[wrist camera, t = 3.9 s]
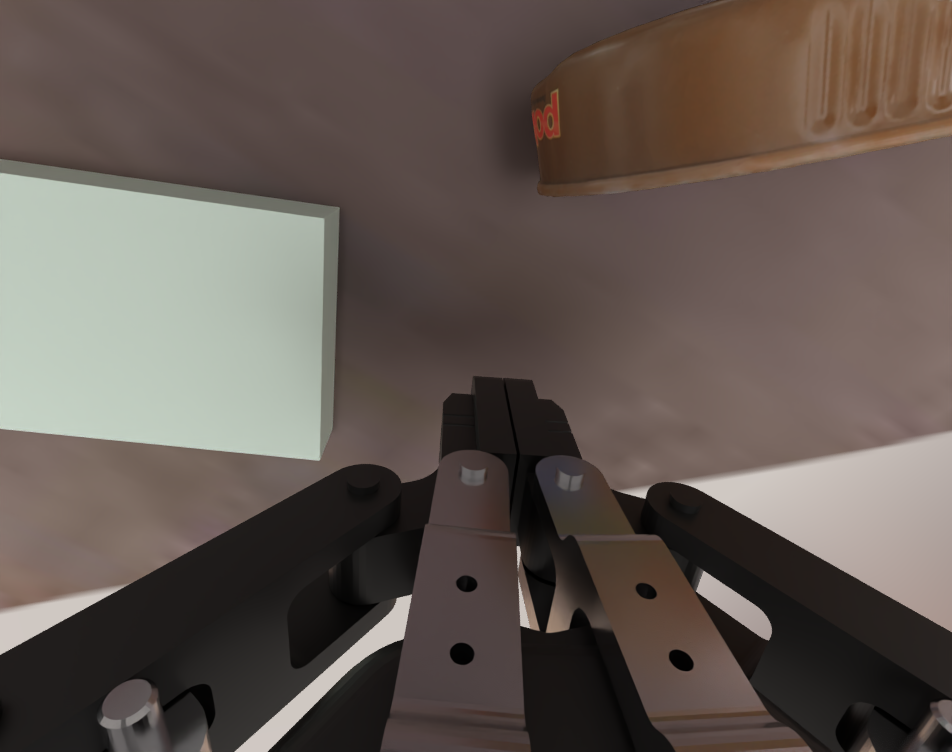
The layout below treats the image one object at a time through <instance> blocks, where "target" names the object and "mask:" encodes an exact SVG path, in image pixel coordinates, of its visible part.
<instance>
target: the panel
mask: <svg viewBox="0 0 952 752" xmlns="http://www.w3.org/2000/svg"><path fill="white" fill-rule="evenodd" d="M339 211H340V207H333V206H326V205H319V204H312V203H305V202H298V201H291V200H284V199H277V198H270V197H263V196H256V195H249V194H242V193H235V192H228V191H221V190H214V189H207V188H200V187H193V186H186V185H179V184H172V183H165V182H158V181H151V180H144V179H137V178H130V177H123V176H116V175H110V174H103V173H96V172H89V171H82V170H75V169H68V168H61V167H54V166H47V165H40V164H33V163H26V162H19V161H12V160H5V159H0V429H8V430H18V431H28V432H38V433H48V434H58V435H68V436H78V437H88V438H98V439H108V440H118V441H128V442H138V443H148V444H158V445H168V446H178V447H188V448H198V449H208V450H218V451H228V452H238V453H248V454H258V455H268V456H278V457H288V458H298V459H308V460H318V461H320V459H321V456H322V454H323V452H324V449H325V447H326V444H327V442H328V439H329V437H330V434H331V432H332V429H333V405H334V372H335V340H336V308H337V276H338V243H339Z"/></svg>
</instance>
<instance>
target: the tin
mask: <svg viewBox="0 0 952 752" xmlns="http://www.w3.org/2000/svg"><path fill="white" fill-rule="evenodd" d="M531 109H532V120H533V126H534V133H535V139H536V146H537V154H538V162H539V170H540V181H539V183H538V186H537V190H538V193H539V195H544V196H552V197H562V196H583V195H598V194H615V193H623V192H629V191H639V190H644V189H654V188H660V187H668V186H673V185H680V184H687V183H696V182H702V181H710V180H717V179H722V178H729V177H736V176H742V175H747V174H750V173H757V172H768V171H771V170H776V169H782V168H790V167H795V166H797V165H802V164H809V163H815V162H820V161H826V160H832V159H837V158H843V157H848V156H853V155H857V154H862V153H866V152H871V151H877V150H882V149H888V148H893V147H898V146H903V145H908V144H913V143H918V142H923V141H927V140H932V139H937V138H943V137H949V136H952V0H717V1H714V2H710V3H707V4H703V5H700V6H697V7H693V8H690V9H687V10H684V11H681V12H678V13H675V14H672V15H669V16H666V17H663V18H660V19H657V20H654V21H652V22H649V23H646V24H643V25H640V26H637V27H634V28H631V29H629V30H626V31H624V32H621V33H619V34H616V35H613V36H611V37H608V38H606V39H603V40H601V41H598V42H596V43H594V44H592V45H590V46H588V47H586V48H584V49H582V50H580V51H578V52H576V53H574V54H572V55H571V56H569V57H568V58H567V59H565V60H564V61H562V62H561V63H560V64H559V65H558V66H557V67H556V68H555V69H554V70H553V71H552V73H551V74H550V75H548V76H547V77H546V78H545V79H543V80H542V81H541V82H539V83H538V84H537V85H536V86H535V88H534V89H533V91H532V93H531Z"/></svg>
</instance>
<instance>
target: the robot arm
mask: <svg viewBox="0 0 952 752" xmlns="http://www.w3.org/2000/svg"><path fill="white" fill-rule="evenodd" d="M517 546H520V550H521V557H520V563H519V568H517ZM703 571H705V572H707V573H708V574H710V575H711V576H713V577H714V578H716V579H717V580H719V581H720V582H722V583H723V584H725V585H726V586H728V587H729V588H731V589H732V590H734V591H735V592H737V593H738V594H740V595H741V596H743V597H744V598H746V599H747V600H749V601H750V602H752V603H753V604H755V605H756V606H757V607H759V608H760V609H761V610H762V611H763V612H764V613H765V614H766V616H767V617H768V619H769V621H770V623H771V626H772V635H771V638H770V640H769V641H768V640H765V639H763V638H761V637H759V636H758V635H757V634H755V633H754V632H752V631H751V630H749V629H748V628H747V627H745V626H744V625H742V624H741V623H739V622H738V621H737V620H735V619H734V618H732V617H731V616H730V615H728V614H727V613H725V612H724V611H722V610H721V609H720V608H718V607H717V606H715V605H714V604H712V603H711V602H710V601H708V600H707V599H706V598H704V597H702V596H701V595H700V594H698V593H697V592H696V590H697V587H698V584H699V581H700V579H701V576H702V573H703ZM518 578H519V582H520V587H521V591H522V595H523V599H524V603H525V607H526V612H527V616H528V620H529V624H530V628H531V629H530V628H526V627H522V626H520V612H519V589H518ZM411 594H412V598H411V604H410V609H409V614H408V621H407V625H406V631H405V636H404V639H403V640H400V641H397V642H394V643H392V644H389V645H387V646H385V647H383V648H381V649H379V650H377V651H376V652H374V653H372V654H371V655H369V656H368V657H366V658H365V659H363V660H362V661H361V662H360V663H358V664H357V665H356V666H354V667H353V668H352V669H351V670H350V671H348V672H347V674H345V675H344V676H343V677H342V678H341V679H340V680H339V681H338V682H337V683H336V684H335V685H334V686H333V687H332V688H331V689H330V690H329V691H328V692H327V693H326V694H325V695H324V696H323V697H322V698H321V699H320V700H319V701H318V702H317V703H316V704H315V705H314V706H313V707H312V708H311V709H310V710H309V711H308V712H307V713H306V714H305V715H304V716H303V717H302V718H301V719H300V720H299V721H298V722H297V723H296V724H295V725H294V726H293V727H292V728H291V729H290V730H289V731H288V732H287V733H286V734H285V735H284V736H283V737H282V738H281V739H280V740H279V741H278V742H277V743H276V744H275V745H274V746H273V747H272V748H271V749H270V750H269V751H268V752H952V632H950V631H949V630H947V629H945V628H943V627H941V626H940V625H938V624H936V623H934V622H933V621H931V620H929V619H927V618H925V617H924V616H922V615H920V614H918V613H917V612H915V611H913V610H911V609H909V608H908V607H906V606H904V605H902V604H901V603H899V602H897V601H895V600H893V599H892V598H890V597H888V596H886V595H884V594H883V593H881V592H879V591H877V590H875V589H874V588H872V587H870V586H868V585H867V584H865V583H863V582H861V581H860V580H858V579H856V578H854V577H853V576H851V575H849V574H847V573H845V572H844V571H842V570H840V569H838V568H837V567H835V566H833V565H831V564H830V563H828V562H826V561H824V560H822V559H821V558H819V557H817V556H815V555H814V554H812V553H810V552H808V551H806V550H805V549H803V548H801V547H799V546H797V545H796V544H794V543H792V542H790V541H789V540H787V539H785V538H783V537H781V536H780V535H778V534H776V533H775V532H773V531H771V530H769V529H767V528H766V527H764V526H762V525H760V524H758V523H757V522H755V521H753V520H751V519H750V518H748V517H746V516H744V515H742V514H741V513H739V512H737V511H735V510H734V509H732V508H730V507H728V506H727V505H725V504H723V503H721V502H719V501H718V500H716V499H714V498H712V497H711V496H709V495H707V494H705V493H703V492H702V491H700V490H698V489H696V488H693V487H691V486H688V485H684V484H680V483H674V482H662V483H657V484H655V485H653V486H651V487H650V488H649V490H648V492H647V495H646V499H643V498H639V497H636V496H632V495H628V494H624V493H621V492H617V491H615V490H612V489H610V487H609V485H608V484H607V482H606V480H605V478H604V476H603V475H602V473H601V472H600V471H599V470H598V469H597V468H596V467H595V466H594V465H592V464H590V463H589V462H587V461H585V460H582V457H581V454H580V452H579V449H578V447H577V444H576V442H575V439H574V437H573V434H572V433H571V429H570V426H569V424H568V421H567V419H566V416H565V413H564V411H563V410H562V409H561V408H560V407H559V406H558V405H557V404H555V403H554V402H553V401H552V400H545V399H538V397H537V394H536V390H535V387H534V384H533V381H532V380H524V379H509V378H503V380H502V378H494V377H480V376H473V381H472V390H471V395H469V394H455V393H452V394H451V395H450V396H449V397H448V398H447V399H446V400H445V401H444V403H443V415H442V428H441V441H440V453H439V466H438V469H437V470H436V471H435V472H434V473H432V474H431V475H429V476H427V477H425V478H423V479H420V480H417V481H412V482H406V483H401V480H400V478H399V477H398V476H397V475H396V474H395V473H394V472H393V471H391V470H389V469H387V468H385V467H382V466H378V465H372V464H359V465H352V466H348V467H345V468H342V469H340V470H338V471H336V472H334V473H333V474H331V475H329V476H327V477H325V478H323V479H322V480H320V481H318V482H316V483H314V484H312V485H311V486H309V487H307V488H305V489H303V490H301V491H300V492H298V493H296V494H294V495H292V496H290V497H289V498H287V499H285V500H283V501H281V502H279V503H278V504H276V505H274V506H272V507H270V508H268V509H267V510H265V511H263V512H261V513H259V514H258V515H256V516H254V517H252V518H250V519H248V520H247V521H245V522H243V523H241V524H239V525H237V526H236V527H234V528H232V529H230V530H228V531H226V532H225V533H223V534H221V535H219V536H217V537H215V538H214V539H212V540H210V541H208V542H206V543H204V544H203V545H201V546H199V547H197V548H195V549H193V550H192V551H190V552H188V553H186V554H184V555H182V556H181V557H179V558H177V559H175V560H173V561H171V562H170V563H168V564H166V565H164V566H162V567H160V568H159V569H157V570H155V571H153V572H151V573H150V574H148V575H146V576H144V577H142V578H140V579H139V580H137V581H135V582H133V583H131V584H129V585H128V586H126V587H124V588H122V589H120V590H118V591H117V592H115V593H113V594H111V595H109V596H107V597H106V598H104V599H102V600H100V601H98V602H96V603H95V604H93V605H91V606H89V607H87V608H85V609H84V610H82V611H80V612H78V613H76V614H75V615H73V616H71V617H69V618H67V619H65V620H63V621H62V622H60V623H58V624H56V625H54V626H53V627H51V628H49V629H47V630H45V631H43V632H42V633H40V634H38V635H36V636H34V637H33V638H31V639H29V640H27V641H25V642H23V643H22V644H20V645H18V646H16V647H14V648H12V649H10V650H9V651H7V652H5V653H3V654H1V655H0V752H234V751H235V750H237V749H238V748H239V747H240V746H241V745H242V744H243V743H244V742H246V741H247V740H248V739H249V738H250V737H251V736H252V735H253V734H254V733H256V732H257V731H258V730H259V729H260V728H261V727H262V726H263V725H265V724H266V723H267V722H268V721H269V720H270V719H271V718H272V717H273V716H275V715H276V714H277V713H278V712H279V711H280V710H281V709H282V708H284V707H285V706H286V705H287V704H288V703H289V702H290V701H291V700H293V699H294V698H295V697H296V696H297V695H298V694H299V693H300V692H301V691H303V690H304V689H305V688H306V687H307V686H308V685H309V684H310V683H312V682H313V681H314V680H315V679H316V678H317V677H318V676H319V675H320V674H322V673H323V672H324V671H325V670H326V669H327V668H328V667H329V666H331V665H332V664H333V663H334V662H335V661H336V660H337V659H338V658H339V657H341V656H342V655H343V654H344V653H345V652H346V651H347V650H348V649H350V647H352V646H353V645H354V644H355V643H356V642H357V641H358V640H360V638H362V637H363V636H364V635H365V634H366V633H367V632H369V630H371V629H372V628H373V627H374V626H375V625H376V624H378V623H379V622H380V621H381V620H382V619H383V618H384V617H385V616H386V615H387V614H389V612H390V611H391V610H392V609H393V607H394V605H395V603H396V599H397V598H399V597H403V596H407V595H411Z"/></svg>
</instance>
